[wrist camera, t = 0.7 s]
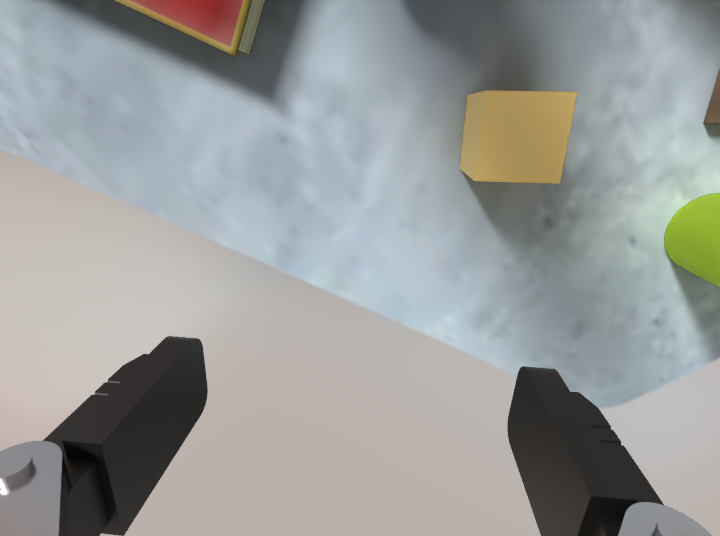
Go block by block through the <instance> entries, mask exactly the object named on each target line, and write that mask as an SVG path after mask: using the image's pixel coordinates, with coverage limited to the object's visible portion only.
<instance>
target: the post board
mask: <svg viewBox="0 0 720 536" xmlns="http://www.w3.org/2000/svg"><path fill="white" fill-rule="evenodd" d="M704 123H720V70H719V73H718V77H717V80H716V83H715V87H714V90H713V93H712V97H711V100H710V103H709V107H708V110H707V113H706V117H705V120H704Z"/></svg>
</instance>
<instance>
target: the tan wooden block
mask: <svg viewBox="0 0 720 536" xmlns="http://www.w3.org/2000/svg"><path fill="white" fill-rule="evenodd" d="M576 98H577V92H559V91H489V90H485V91H481V92H477V93H473V94H470V95H467V102H466V112H465V122H464V131H463V141H462V151H461V161H460V169H461V170H462V171H463V172H464V173H465V174H467V175H468V176H469V177H470V178H471V179H472V180H474V181H487V182H520V183H554V184H560V181H561V176H562V171H563V166H564V160H565V155H566V150H567V145H568V139H569V134H570V129H571V124H572V119H573V113H574V108H575V103H576Z"/></svg>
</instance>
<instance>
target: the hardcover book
mask: <svg viewBox="0 0 720 536" xmlns="http://www.w3.org/2000/svg"><path fill="white" fill-rule="evenodd" d="M115 1H117V2H119V3H121V4H123V5H125V6H127V7H130V8H132V9H134V10H136V11H138V12H140V13H143V14H145V15H147V16H149V17H151V18H153V19H155V20H158V21H160V22H162V23H164V24H166V25H168V26H170V27H173V28H175V29H177V30H179V31H181V32H183V33H186V34H188V35H190V36H192V37H194V38H196V39H198V40H201V41H203V42H205V43H207V44H209V45H211V46H213V47H216V48H218V49H220V50H222V51H224V52H226V53H229V54H231V55H233V56H235V57H237V54H238V50H239V51H241V52H244V53H246V54H248V55H249V54H250V51H251V47H252V44H253V40H254V37H255V33H256V30H257V27H258V23H259V20H260V16H261V13H262V9H263V6H264V2H265V0H115Z"/></svg>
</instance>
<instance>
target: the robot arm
mask: <svg viewBox="0 0 720 536" xmlns="http://www.w3.org/2000/svg"><path fill="white" fill-rule="evenodd" d="M206 400H207V380H206V371H205V362H204V354H203V346H202V343H201V341H200V340H199V339H196V338H185V337H172V336H169V337H166V338H165V339H164V340H163V341H162V342H161V343H160V344H159V345H158V346H157V347H156V348H155V349H154V350H153V351H152V352H151V353H150V354H143V355H141V356H140V357H138V358H136V359H134V360H132V361H130V362H129V363H127V364H125V365H123V366H122V367H121V368H120V369H119V370H118V371H117V372H116V373H115V374H113V376H112V377H110V378H109V379H108V382H107V383H104V384H103V385H102V386H101V387H100V388H99V389H98V390H96V391H95V395H91V396H90V397H89V398H88V399H87V400H86V401H85V402H84V403H83V404H82V405H80V406H79V407H78V408H77V409H76V410H75V411H74V412H73V413H72V414H71V415H70V416H69V417H68V418H67V419H66V420H65V421H63V422H62V423H61V424H60V425H59V426H58V427H57V428H56V429H55V430H54V431H53V432H52V433H51V434H50V435H49V436H48V437H46V438H45V439H44V440H43V441H32V442H26V443H22V444H18V445H15V446H12V447H10V448H7V449H5V450H3V451H1V452H0V536H99V535H100V534H101V533H104V534H113V535H121V536H124V534H125V533H126V531H127V530H128V528H129V526H130V525H131V524H132V522H133V520H134V519H135V517H136V516H137V514H138V512H139V511H140V509H141V508H142V506H143V505H144V503H145V502H146V500H147V498H148V497H149V495H150V494H151V492H152V491H153V489H154V487H155V486H156V484H157V483H158V481H159V480H160V478H161V477H162V475H163V473H164V472H165V470H166V469H167V467H168V466H169V464H170V462H171V461H172V459H173V457H174V456H175V455H176V453H177V451H178V450H179V448H180V447H181V445H182V443H183V442H184V441H185V439H186V437H187V436H188V434H189V433H190V431H191V430H192V428H193V426H194V425H195V423H196V422H197V420H198V419H199V417H200V415H201V414H202V412H203V410H204V407H205V404H206ZM508 437H509V442H510V446H511V449H512V451H513V455H514V458H515V461H516V463H517V466H518V469H519V472H520V475H521V478H522V481H523V484H524V487H525V490H526V493H527V495H528V498H529V501H530V504H531V507H532V510H533V513H534V516H535V519H536V522H537V525H538V528H539V531H540V533H541V536H712V535H711V534H710V533H709V532H708V531H707V530H706V529H705V528H703V527H702V526H701V525H700V524H698V523H697V522H696V521H694V520H693V519H691V518H690V517H688V516H686V515H684V514H683V513H681V512H679V511H677V510H675V509H673V508H670V507H667V506H665V505H664V504H663V503H662V501H661V500H660V498H659V497H658V495H657V494H656V492H655V491H654V490H653V488H652V487H651V485H650V484H649V482H648V481H647V479H646V478H645V476H644V475H643V473H642V472H641V470H640V469H639V468H638V466H637V465H636V463H635V462H634V460H633V459H632V457H631V456H630V455H629V453H628V451H627V450H626V448H625V447H624V446H622V445H621V441H620V440H619V438H618V437H617V435H616V434H615V432H614V431H613V430H611V426H610V425H609V423H608V422H607V420H606V419H605V417H604V416H603V414H602V413H601V411H600V410H599V409H598V408H597V407H596V406H595V405H594V404H592V403H591V402H590V401H589V400H588V399H586V398H585V397H584V396H583V395H581V394H580V393H578V392H570V391H569V389H568V387H567V386H566V384H565V383H564V381H563V379H562V378H561V376H560V375H559V373H558V372H557V371H556V370H555V369H547V368H535V367H521V368H520V370H519V372H518V376H517V380H516V385H515V389H514V394H513V399H512V403H511V407H510V412H509V416H508Z"/></svg>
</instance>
